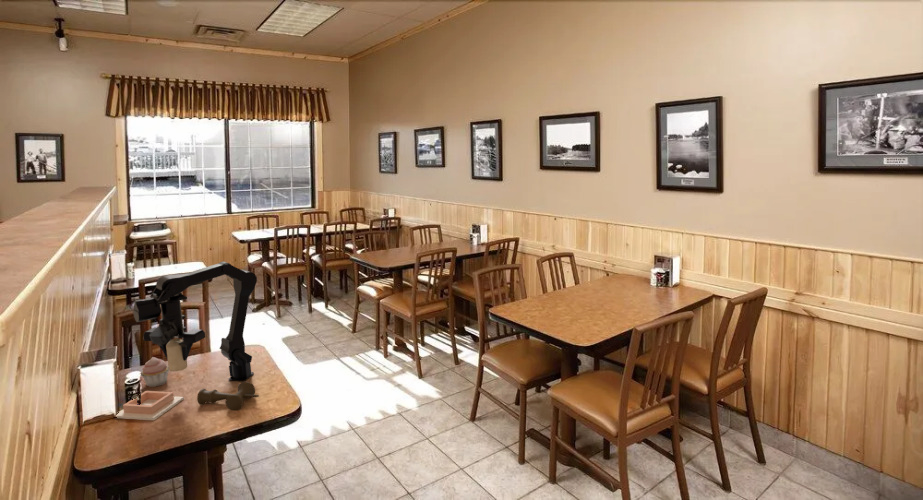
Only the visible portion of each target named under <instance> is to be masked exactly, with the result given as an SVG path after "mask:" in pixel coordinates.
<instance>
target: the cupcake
mask: <svg viewBox="0 0 923 500" xmlns="http://www.w3.org/2000/svg"><path fill="white" fill-rule="evenodd" d="M169 372H170V371H169V367H168V365H167V364H166V362H165V361H164V360H163V359H161V358H157V357H154V356H152V357H151V359H149V360H148V361H146V362H145V364H144V366H143V367H142V370H141V372H140V373H139V375H140V374H141V375H140V376H141V377H142V378H143V381H144V382H145V385H146V386H147V387H148V388H149V387H150V388H152V387H153V388H155V387H159V386H162V385H165V384H166V383H167V382H168V381H167V380H168V376H169Z"/></svg>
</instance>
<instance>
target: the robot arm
mask: <svg viewBox="0 0 923 500" xmlns="http://www.w3.org/2000/svg"><path fill="white" fill-rule="evenodd" d="M224 275H225V276H227V277H228V278H230V279H233V280H232V281H233V282H232V283H233V284H232V285H233V290H234V293H235V295H234V300H233V307H232V308H233V309H232V314H231V320H230V325H229V331H228V334H227V335H226V337H221V340H220V341H221V344H220V346H219V350H220V351H221V352H220V353H221V355H223V357H225V358H227V360H228V361H229V365H228V372H229V378H228V381H236V382H246V381H247V380H248V379H249V378H251V377H252V376H253V375H254V374H255V373H254V372H252V365H251V363H252V360H253V356H252V355H251V354H250V353H249V354H248V353H247V352H246V344H245V339H244V330H245V324H246V318H247V312H248V308H249V307H248V306H249V300H250V296H251V295H252V293H253V292H254V291H255V288H256V286H257V282H258V276H257V274H255V273H254V272H253V271H252V272H251V271H249V270H246V269H240V268H237V267H236V266H234V265H232V264H231V263H229V262H227V261H220V262H218V263H216V264H212V265H209V266H206V267H202V268H199V269H196V270H193V271H190V272H186V273H179V274H169V275H162V276H160V277H159V278H157V281H156V283H155V288H154V289H153V291H152V293H151V294H150V295H149V298H144V299H135V300H134V301H133V303H134V304H133V309H132V313H133V317H134V321H135V322H136V323H139V322H145V321H149V320H155V319H158V317H160V316H161V319H159V321H158V326H157V327H153V328H150V329H148V330H146V331H144V333H143V337H142V339H143V341H144V342H151V343H152V344H155V345H157V346H158V347H159V348H160V349H161V351H162V352H163V355H164V356H165V358H166V359H167V360H168V358H167V350H166V345H167V344H168V342H169V341H170V340H174V339H182V342H180V343H179V345H180V346H181V347H182V355H183V360H184V361H185V360H187V361H188V357H189V355H190V352H191V349H192V347H193V345H194V344H195V343H198V342H200V341H201V340H203V339H205V338H206V332H205V330H204V329H199V328H198V329H197V328H196V329H195V328H193V329H191V330H189V331H187V327H186V326H184V323H183V322H184V321H183V320H184V319H186V316H185V314H183V313H182V305H181V301H184V300H187V299H188V296H185V295H184V294H183V292H184V291H185V290H187V289H188V288H190V287H192V286H194V285H198V284H200V283H203V282H206V281H209V280H212V279H215V278H218V277H221V276H224ZM186 331H187V332H186Z"/></svg>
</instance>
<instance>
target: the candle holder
mask: <svg viewBox="0 0 923 500" xmlns="http://www.w3.org/2000/svg"><path fill="white" fill-rule="evenodd" d="M140 394H141V404H140V405H137V404H138V403H137V398H136V399H134V398H132V399H133V400H132V399H130V400H129V401H128V402H126V403H124V404H122V409H121V410H119V411H118V412H119V413H118V412H117V413H118V414H117V415H116V417H117V418H116V419H128V420H141V421H142V420H143V421H155V420H157V419H159V417H161V416H163V415H164V414H165V413H166V412H168V411H169V410H171V409H173V408H174V407H175V406H176V405H178V404H179V403H180V402H182V401H183V400H184V399H185V398H184V396H174V392H172V391H156V390H155V391H154V390H145V391H143V392H141V393H140Z"/></svg>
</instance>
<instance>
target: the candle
mask: <svg viewBox="0 0 923 500" xmlns="http://www.w3.org/2000/svg"><path fill="white" fill-rule="evenodd" d="M182 341H183V339H182V338H173V339H172V340H170V341H169V342H168V344H167V345H166V350H167V358H168V359H167V358H166V359H167V366H168V367H169V372H180V371H183V370H186V369H187V368H188V359H187V360H185V361H184V360H183V355H182V347H181V346H180V345H179V343H180V342H182Z"/></svg>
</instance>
